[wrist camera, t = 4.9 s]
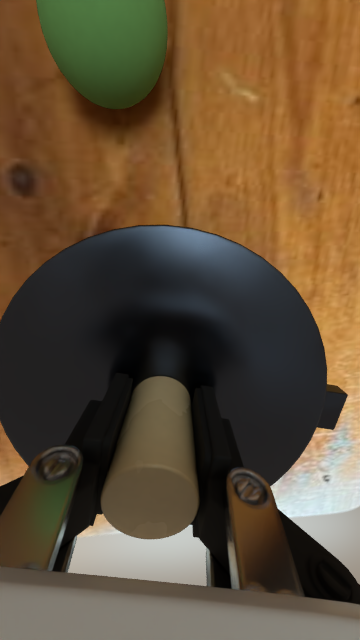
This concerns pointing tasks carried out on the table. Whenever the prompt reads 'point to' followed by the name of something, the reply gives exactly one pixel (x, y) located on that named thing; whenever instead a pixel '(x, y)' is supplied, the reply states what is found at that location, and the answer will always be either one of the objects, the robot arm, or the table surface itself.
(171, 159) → the table surface
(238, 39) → the table surface
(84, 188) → the table surface
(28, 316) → the lid
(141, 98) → the ball
